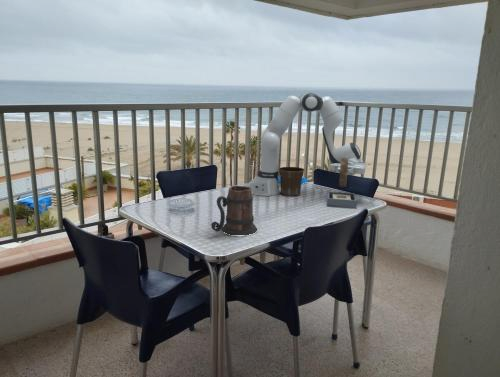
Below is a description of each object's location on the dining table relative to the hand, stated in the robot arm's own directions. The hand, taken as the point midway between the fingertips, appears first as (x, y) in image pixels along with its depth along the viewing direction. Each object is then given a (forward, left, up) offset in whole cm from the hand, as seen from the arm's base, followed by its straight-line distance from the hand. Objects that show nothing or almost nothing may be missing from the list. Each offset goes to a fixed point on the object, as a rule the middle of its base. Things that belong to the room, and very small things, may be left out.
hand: (343, 170), depth 206 cm
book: (-36, +41, -20) cm, 58 cm away
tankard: (-50, -57, -20) cm, 78 cm away
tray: (0, +1, -20) cm, 20 cm away
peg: (0, +1, -9) cm, 9 cm away
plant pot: (-31, +15, -20) cm, 39 cm away
